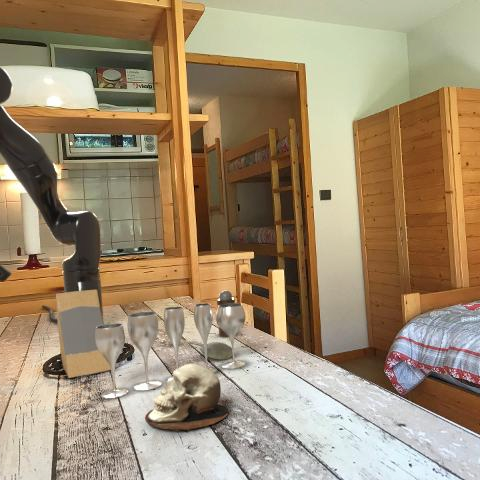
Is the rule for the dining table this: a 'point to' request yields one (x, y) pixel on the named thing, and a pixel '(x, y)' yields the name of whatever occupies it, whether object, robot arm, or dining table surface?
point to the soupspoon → (213, 349)
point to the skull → (188, 400)
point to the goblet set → (146, 331)
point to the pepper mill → (224, 298)
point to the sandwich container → (80, 332)
